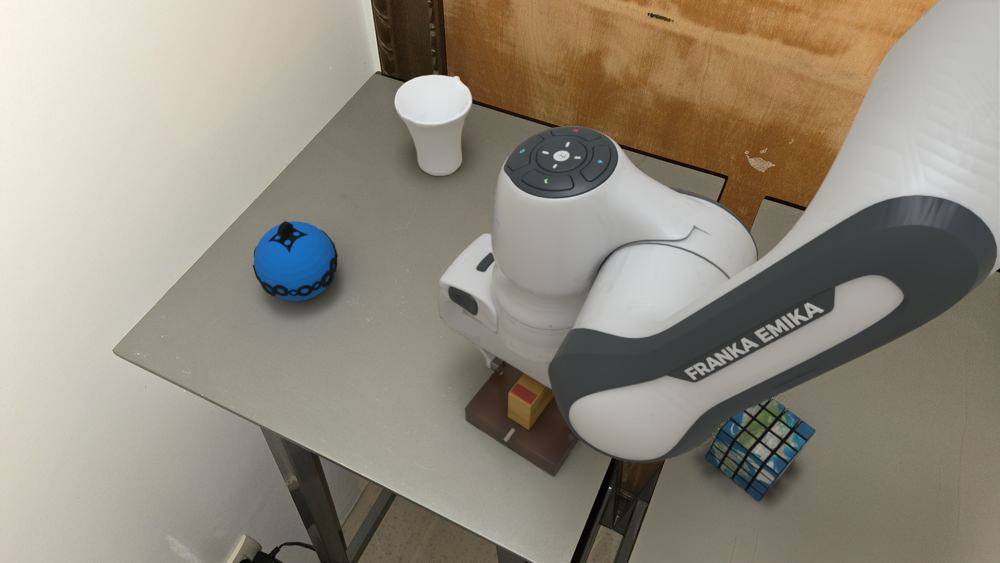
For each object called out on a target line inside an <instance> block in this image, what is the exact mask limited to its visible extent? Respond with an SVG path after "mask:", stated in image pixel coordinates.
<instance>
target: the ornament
mask: <svg viewBox="0 0 1000 563" xmlns="http://www.w3.org/2000/svg"><path fill="white" fill-rule="evenodd" d="M338 257H339V255H338V252H337V248H336V245H335V242H334V241H333V240H332V238H331V237H330V236H329V235H328V234H327V233H326V231H324V230H323V229H320V228H318V227H316V226H315V225H314V224H311V223H309V222H304V221H297V220H295V221H294V220H293V221H285V220H284V221H282V222H281V223H279V224H277V225H275V226H272V227H271V228H270V229H269V230H267V231H266V232H265V233H264V235H262V237H261V238H260V239H259V241H258V243H257V245H256V246H255V248H254V250H253V264H252V268H253V272H254V276H255V279H256V280H257V281H258V283H259V284H260V286H261V288H262V289H263V290H264V291H265V292H266V294H268V295H270V296H271V297H277V298H278V299H281V300H285V301H289V302H301V301H307V300H310V299H312V298H314V297H317V296H318V295H320V294H321V293H322V292H324V291H325V290H326V289H327V288H328V287H329V286H330V285H331V284H332V283H333V280H334V277H335V273H336V271H337V268H338Z"/></svg>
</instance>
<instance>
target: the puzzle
mask: <svg viewBox="0 0 1000 563" xmlns="http://www.w3.org/2000/svg"><path fill="white" fill-rule="evenodd" d="M815 433H816V429H815V428H814V427H812V426H811V425H810V424H809V423H807V422H806V421H804V420H803V419H801V418H800V417H799V416H798V415H796V414H795V413H794V412H792V411H791V410H789V409H787V407H785V406H784V405H783V404H782V403H780V402H779V401H777V400H776V399H774V398H773V397H772V398H770V399H768V400H766V401H764V402H762V403H760V404H757V405H755V406H753V407H751V408H749V409H747V410H745V411H743V412H741V413H739V414H737V415H735V416H733V417H731V418H729V419H728V420H726V421H725V422H724V423H723V424H722V426H720V428H719V429H718V431H717V433H716V436H715V438H714V439H713V441H712V443H711V445H710V447H709V449H708V451H707V452H706V454H705V459H706V460H707V461H708V462H710V463H711V464H712V465H713V466H714V467H716V468H718V470H720V471H721V472H722V473H723V474H724V475H725V476H727V477H728V478H729V479H732V481H733V482H734V483H735V484H736V485H738V486H739V487H740V488H741V489H742V490H745V491H746V493H747V494H749V495H750V496H751V497H752V498H753V499H755V500H756V501H757V502H761V500H762V499H763V498H764V497H765V496H766V494H767V493H768V492H769V491H770V490H771V489H772V487H774V485H775V484H776V483H777V482H778V480H779V479H781V477H782V476H783V474H784V473H785V472H786V471H787V469H788V468H789V467H790V466H791V465H792V464H793V463H794V461H795V460H796V459H797V457H798V456H799V455H800V454H801V452H802V451H803V450H804V448H805V447H806V445H807V444H808V443H809V441H810V440H811V439H812V438H813V436H814V435H815Z"/></svg>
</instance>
